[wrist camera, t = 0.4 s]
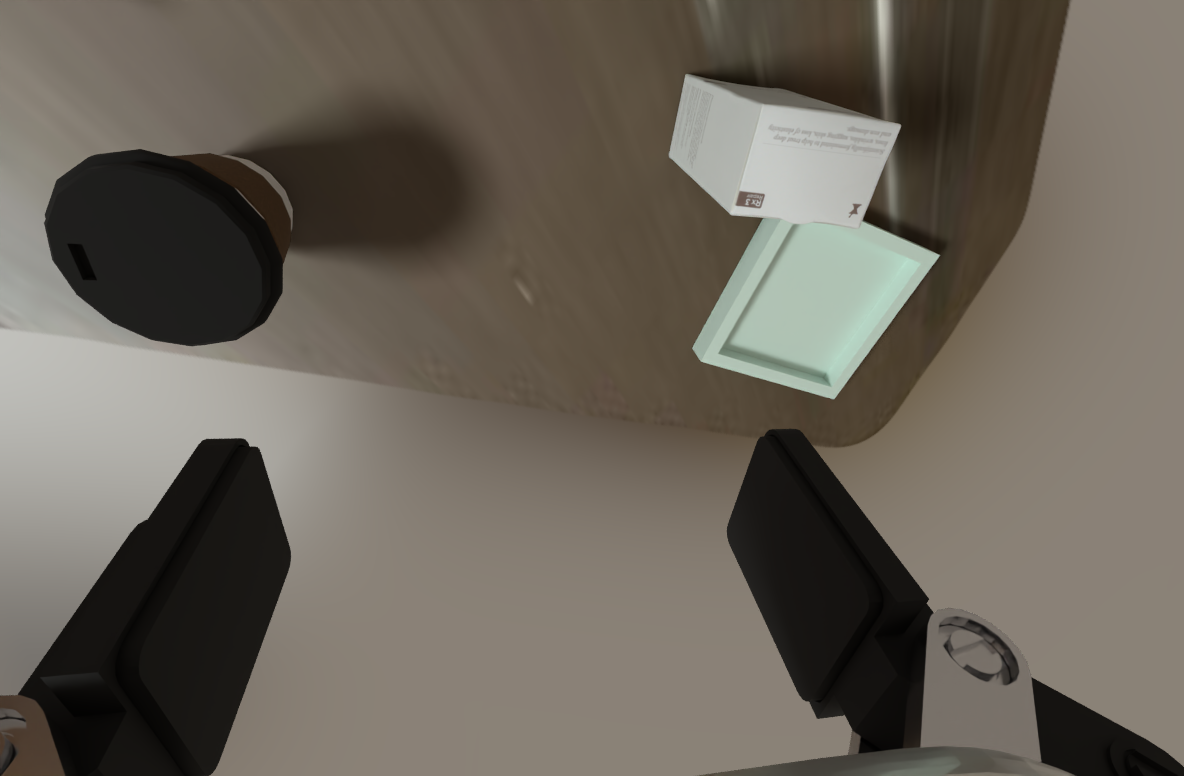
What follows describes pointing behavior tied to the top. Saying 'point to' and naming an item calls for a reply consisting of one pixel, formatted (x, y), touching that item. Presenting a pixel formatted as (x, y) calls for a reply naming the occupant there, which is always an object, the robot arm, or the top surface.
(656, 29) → the top surface
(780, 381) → the tray
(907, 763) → the robot arm
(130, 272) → the coffee cup
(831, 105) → the skincare box
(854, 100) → the top surface
